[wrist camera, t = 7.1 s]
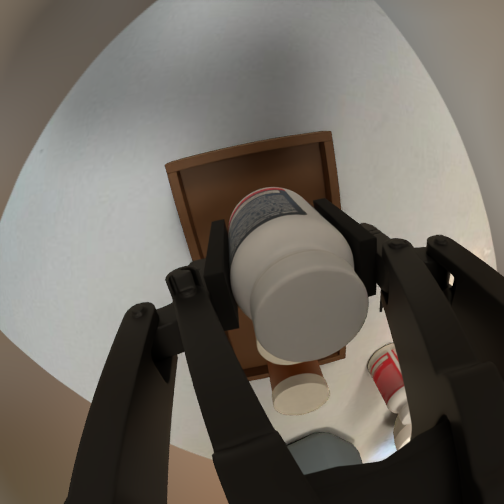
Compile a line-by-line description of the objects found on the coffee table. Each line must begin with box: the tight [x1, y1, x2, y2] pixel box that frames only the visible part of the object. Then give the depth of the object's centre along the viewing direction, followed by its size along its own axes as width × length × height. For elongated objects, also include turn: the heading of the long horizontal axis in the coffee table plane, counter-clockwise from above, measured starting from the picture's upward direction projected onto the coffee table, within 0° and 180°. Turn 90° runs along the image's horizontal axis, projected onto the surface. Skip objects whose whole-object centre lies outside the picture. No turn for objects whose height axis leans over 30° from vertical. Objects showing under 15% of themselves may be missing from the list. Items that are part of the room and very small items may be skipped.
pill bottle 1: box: [228, 187, 369, 362], centre depth 13 cm, size 5×5×9 cm
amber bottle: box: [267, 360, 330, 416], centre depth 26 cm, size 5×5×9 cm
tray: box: [165, 131, 346, 381], centre depth 27 cm, size 26×14×2 cm, turn 11°
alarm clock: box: [287, 433, 363, 475], centre depth 35 cm, size 17×17×23 cm
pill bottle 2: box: [368, 343, 411, 425], centre depth 30 cm, size 6×6×11 cm
